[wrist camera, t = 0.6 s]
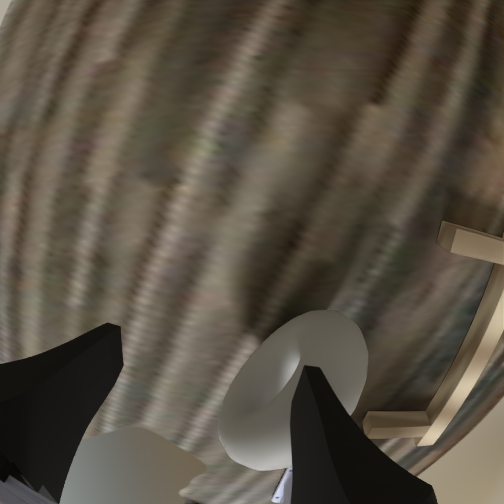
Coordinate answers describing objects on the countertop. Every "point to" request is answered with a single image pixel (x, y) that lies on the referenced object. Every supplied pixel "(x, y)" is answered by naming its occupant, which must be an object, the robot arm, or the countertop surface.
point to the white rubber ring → (289, 385)
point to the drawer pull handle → (469, 356)
